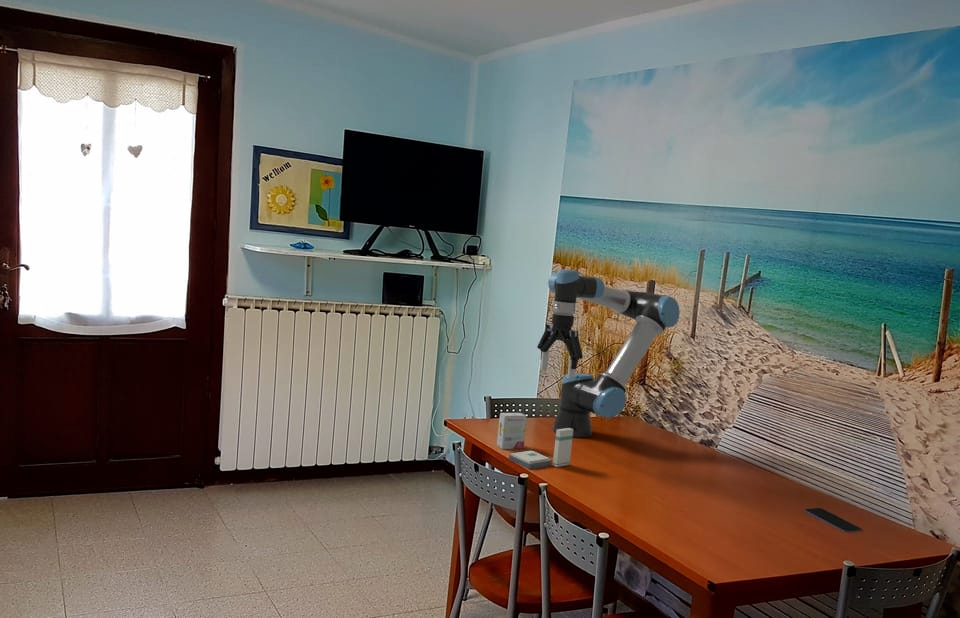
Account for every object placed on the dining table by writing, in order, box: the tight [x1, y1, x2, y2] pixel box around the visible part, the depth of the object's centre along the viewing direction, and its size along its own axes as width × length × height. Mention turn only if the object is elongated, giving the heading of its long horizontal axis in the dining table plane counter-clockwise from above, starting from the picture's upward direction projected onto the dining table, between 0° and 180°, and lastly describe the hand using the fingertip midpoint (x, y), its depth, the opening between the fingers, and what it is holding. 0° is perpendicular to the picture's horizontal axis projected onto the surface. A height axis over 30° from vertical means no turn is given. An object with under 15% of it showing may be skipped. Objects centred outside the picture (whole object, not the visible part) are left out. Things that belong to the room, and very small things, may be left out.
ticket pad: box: [508, 450, 553, 470], centre depth 230 cm, size 10×10×2 cm
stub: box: [552, 428, 574, 468], centre depth 230 cm, size 6×2×12 cm, turn 128°
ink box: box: [496, 412, 527, 450], centre depth 245 cm, size 9×5×12 cm, turn 112°
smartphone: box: [804, 507, 863, 533], centre depth 204 cm, size 7×1×15 cm
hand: (556, 373), depth 247 cm, fingers open, 13 cm apart
